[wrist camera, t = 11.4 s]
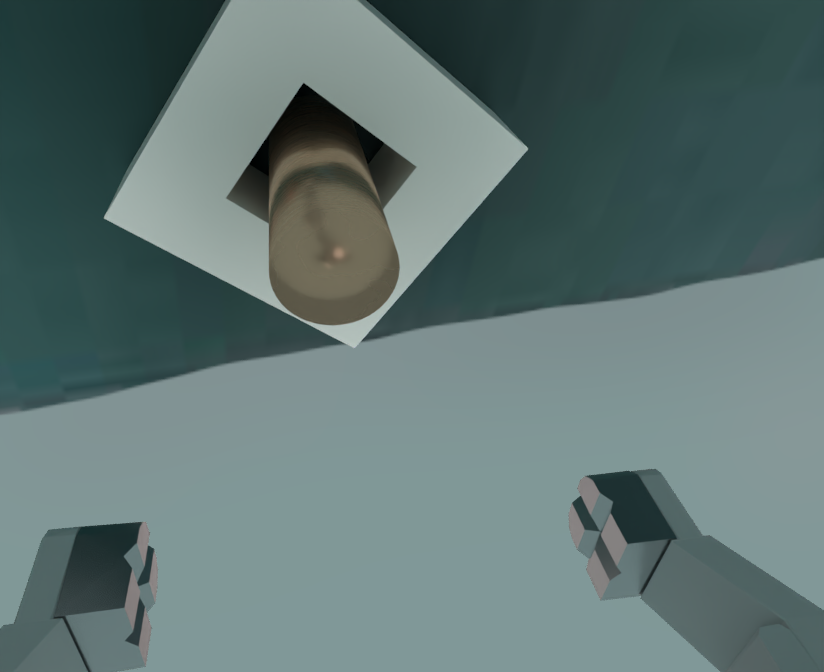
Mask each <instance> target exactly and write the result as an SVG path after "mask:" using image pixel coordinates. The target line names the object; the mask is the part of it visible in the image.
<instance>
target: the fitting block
mask: <svg viewBox="0 0 824 672" xmlns="http://www.w3.org/2000/svg"><path fill="white" fill-rule="evenodd" d="M303 83H305V84H306V85H307V86H309V87H310V88H311V89H313V90H314V91H315V92H317V93H318V94H319V95H321V96H322V97H323V98H325V99H326V100H328V101H329V102H330V103H332V104H333V105H334V106H336V107H337V108H338V109H340V110H341V111H342V112H344V113H345V114H346V115H348V116H349V117H350V118H352V119H353V120H354V121H356V122H357V123H358V124H360V125H361V126H362V127H364V128H365V129H366V130H368V131H369V132H370V133H372V134H373V135H374V136H376V137H377V138H379V139H380V140H381V141H383V142H384V144H383V146H382V147H381V148H380V150H379V151H378V152H377V153H376V155H375V156H374V157H373V159H372V160H371V161H370V163H369V164H368V167H369V170H370V173H371V176H372V179H373V182H374V185H375V188H376V191H377V194H378V197H379V199H380V202H381V205H382V208H383V211H384V214H385V217H386V220H387V223H388V226H389V229H390V232H391V235H392V238H393V241H394V244H395V247H396V250H397V253H398V257H399V265H400V270H399V277H398V281H397V284H396V287H395V289H394V291H393V293H392V294H391V296H390V297H389V299H388V300H387V301H386V302H385V303H384V304H383V305H382V306H381V307H380V308H379V309H378V310H377V311H375V312H374V313H372V314H371V315H369V316H367V317H365V318H363V319H361V320H359V321H356V322H353V323H348V324H343V325H321V324H316V323H312V322H309V321H306V320H303V319H301V318H299V317H297V316H296V315H294V314H292V313H291V312H290V311H289V310H287V309H286V308H285V307H284V306H283V305H282V304H281V303H280V301H279V300H278V299H277V297H276V295H275V293H274V292H273V289H272V286H271V284H270V279H269V176H267V175H266V174H264V173H263V172H261V171H260V170H258V169H256V168H255V167H253V166H252V165H250V164H249V163H250V161H251V160H252V158H253V157H254V155H255V154H256V152H257V151H258V149H259V148H260V146H261V145H262V143H263V142H264V140H265V139H266V138H267V136H268V135H269V133H270V132H271V130H272V129H273V127H274V126H275V124H276V123H277V121H278V120H279V118H280V117H281V115H282V114H283V112H284V111H285V109H286V108H287V106H288V105H289V103H290V102H291V100H292V99H293V97H294V96H295V94H296V93H297V91H298V90H299V88H300V87H301V85H302V84H303ZM527 150H528V148H527V147H526V146H525V145H524V143H523V142H522V141H521V140H520V139H519V138H518V137H517V136H516V135H515V134H514V133H513V132H512V131H511V130H510V129H509V128H508V127H507V125H506V124H505V123H504V122H503V121H502V120H501V119H500V118H499V117H498V116H497V115H496V114H495V113H494V112H493V111H492V110H491V109H490V108H489V107H487V106H486V105H485V104H484V103H483V102H482V101H481V100H479V99H478V98H477V97H476V96H475V95H474V94H473V93H471V92H470V91H469V90H468V89H467V88H466V87H465V86H463V85H462V84H461V83H460V82H459V81H458V80H457V79H455V78H454V77H453V76H452V75H451V74H450V73H449V72H447V71H446V70H445V69H444V68H443V67H442V66H441V65H439V64H438V63H437V62H436V61H435V60H434V59H433V58H431V57H430V56H429V55H428V54H427V53H426V52H425V51H423V50H422V49H421V48H420V47H419V46H418V45H417V44H415V43H414V42H413V41H412V40H411V39H410V38H409V37H407V36H406V35H405V34H404V33H403V32H402V31H401V30H399V29H398V28H397V27H396V26H395V25H394V24H393V23H391V22H390V21H389V20H388V19H387V18H386V17H385V16H383V15H382V14H381V13H380V12H379V11H378V10H377V9H375V8H374V7H373V6H372V5H371V4H370V3H369V2H367V1H366V0H225V2H224V4H223V5H222V7H221V9H220V10H219V12H218V14H217V16H216V17H215V19H214V21H213V23H212V24H211V26H210V28H209V29H208V31H207V33H206V35H205V36H204V38H203V40H202V41H201V43H200V45H199V47H198V48H197V50H196V52H195V53H194V55H193V57H192V59H191V60H190V62H189V64H188V66H187V67H186V69H185V71H184V72H183V74H182V76H181V78H180V79H179V81H178V83H177V84H176V86H175V88H174V90H173V91H172V93H171V95H170V97H169V98H168V100H167V102H166V103H165V105H164V107H163V109H162V110H161V112H160V114H159V115H158V117H157V119H156V121H155V122H154V124H153V126H152V127H151V129H150V131H149V133H148V134H147V136H146V138H145V140H144V141H143V143H142V145H141V146H140V148H139V150H138V152H137V153H136V155H135V157H134V158H133V160H132V162H131V164H130V165H129V167H128V169H127V171H126V173H125V175H124V177H123V179H122V181H121V183H120V185H119V187H118V189H117V191H116V194H115V196H114V198H113V200H112V202H111V204H110V206H109V208H108V210H107V212H106V214H105V216H104V219H106V220H108V221H110V222H112V223H114V224H116V225H118V226H120V227H122V228H123V229H125V230H127V231H129V232H131V233H133V234H135V235H137V236H139V237H141V238H143V239H145V240H147V241H149V242H150V243H152V244H154V245H156V246H158V247H160V248H162V249H164V250H166V251H168V252H170V253H172V254H174V255H176V256H177V257H179V258H181V259H183V260H185V261H187V262H189V263H191V264H193V265H195V266H197V267H199V268H201V269H203V270H204V271H206V272H208V273H210V274H212V275H214V276H216V277H218V278H220V279H222V280H224V281H226V282H228V283H230V284H231V285H233V286H235V287H237V288H239V289H241V290H243V291H245V292H247V293H249V294H251V295H253V296H255V297H257V298H258V299H260V300H262V301H264V302H266V303H268V304H270V305H272V306H274V307H276V308H278V309H280V310H282V311H283V312H285V313H287V314H289V315H291V316H293V317H295V318H297V319H299V320H301V321H303V322H305V323H307V324H309V325H310V326H312V327H314V328H316V329H318V330H320V331H322V332H324V333H326V334H328V335H330V336H332V337H334V338H336V339H337V340H339V341H341V342H343V343H345V344H347V345H349V346H351V347H353V348H355V347H356V346H357V345H358V344H359V343H360V342H361V340H362V339H363V338H364V337H365V336H366V335H367V334H368V332H369V331H370V330H371V329H372V328H373V327H374V326H375V324H376V323H377V322H378V321H379V320H380V319H381V318H382V316H383V315H384V314H385V313H386V312H387V311H388V309H389V308H390V307H391V306H392V305H393V304H394V303H395V301H396V300H397V299H398V298H399V297H400V296H401V295H402V293H403V292H404V291H405V290H406V289H407V288H408V287H409V285H410V284H411V283H412V282H413V281H414V280H415V279H416V277H417V276H418V275H419V274H420V273H421V272H422V270H423V269H424V268H425V267H426V266H427V265H428V264H429V262H430V261H431V260H432V259H433V258H434V257H435V256H436V254H437V253H438V252H439V251H440V250H441V249H442V248H443V246H444V245H445V244H446V243H447V242H448V241H449V240H450V238H451V237H452V236H453V235H454V234H455V233H456V231H457V230H458V229H459V228H460V227H461V226H462V225H463V223H464V222H465V221H466V220H467V219H468V218H469V217H470V215H471V214H472V213H473V212H474V211H475V210H476V209H477V207H478V206H479V205H480V204H481V203H482V202H483V200H484V199H485V198H486V197H487V196H488V195H489V194H490V192H491V191H492V190H493V189H494V188H495V187H496V186H497V184H498V183H499V182H500V181H501V180H502V179H503V178H504V176H505V175H506V174H507V173H508V172H509V171H510V170H511V168H512V167H513V166H514V165H515V164H516V163H517V161H518V160H519V159H520V158H521V157H522V156H523V155H524V153H525V152H526V151H527Z"/></svg>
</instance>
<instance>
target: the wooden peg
mask: <svg viewBox="0 0 824 672" xmlns="http://www.w3.org/2000/svg"><path fill="white" fill-rule="evenodd" d="M399 270H400V265H399V257H398V253H397V250H396V247H395V244H394V241H393V238H392V235H391V232H390V229H389V226H388V223H387V220H386V217H385V214H384V211H383V208H382V205H381V202H380V199H379V197H378V194H377V191H376V188H375V185H374V182H373V179H372V176H371V173H370V170H369V167H368V164H367V161H366V158H365V155H364V152H363V149H362V146H361V143H360V141H359V138H358V135H357V132H356V129H355V126H354V123H353V121H352V119H351V118H350V117H349V116H348V115H346V114H345V113H344V112H342V111H341V110H340V109H338V108H337V107H336V106H334V105H333V104H332V103H330V102H329V101H328V100H326V99H325V98H323V97H322V96H318V95H305V96H300V97H297V98H294V99H292V100H291V102H290V103H289V105H288V106H287V108H286V109H285V111H284V112H283V114H282V115H281V117H280V118H279V120H278V121H277V123H276V124H275V126H274V127H273V129H272V130H271V132H270V133H269V279H270V284H271V286H272V289H273V292H274V293H275V295H276V297H277V299H278V300H279V301H280V303H281V304H282V305H283V306H284V307H285V308H286V309H287V310H289V311H290V312H291V313H292V314H294V315H296V316H297V317H299V318H301V319H303V320H306V321H309V322H312V323H316V324H321V325H343V324H348V323H353V322H356V321H359V320H361V319H363V318H365V317H367V316H369V315H371V314H372V313H374V312H375V311H377V310H378V309H379V308H380V307H381V306H382V305H383V304H384V303H385V302H386V301H387V300H388V299H389V297H390V296H391V294H392V293H393V291H394V289H395V287H396V284H397V281H398V277H399Z"/></svg>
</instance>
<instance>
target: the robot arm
mask: <svg viewBox="0 0 824 672" xmlns="http://www.w3.org/2000/svg"><path fill="white" fill-rule="evenodd" d="M577 489H578V491H579V493H580V495H581V496H580V497H579V498H577V499H576V500H575V501H574V502H573V503H572V505H571V508H570V512H569V529H570V533H571V536H572V539H573V542H574V544H575V546H576V548H577V550H578V551H579V552H581V553H582V554H583V555H585V556H586V557H587V558H589V560H588V565H587V569H586V570H587V572H588V574H589V576H590V579H591V581H592V583H593V585H594V587H595V589H596V591H597V594H598V596H599V598H600V600H608V599H617V598H626V597H635V596H641V599H642V600H643V601H644V602H645V603H646V604H647V605H648V606H649V607H651V608H652V609H653V610H654V611H655V612H656V613H657V614H658V615H659V616H660V617H661V618H663V619H664V620H665V621H666V622H667V623H668V624H669V625H670V626H671V627H672V628H674V630H676V631H677V632H678V633H679V634H680V635H681V636H682V637H683V638H684V639H686V641H688V642H689V643H690V644H691V645H692V646H693V647H694V648H695V649H696V650H697V651H698V652H700V653H701V654H702V655H703V656H704V657H705V658H706V659H707V660H708V661H709V662H710V663H712V664H713V665H714V666H715V667H716V668H717V669H718V670H719V671H720V672H824V610H822V609H821V608H819V607H817V606H816V605H815V604H813V603H812V602H810V601H809V600H807V599H806V598H804V597H802V596H801V595H800V594H798V593H796V592H795V591H793V590H792V589H790V588H789V587H787V586H786V585H784V584H783V583H781V582H780V581H778V580H777V579H775V578H774V577H772V576H771V575H769V574H768V573H766V572H765V571H763V570H762V569H760V568H759V567H757V566H756V565H754V564H752V563H751V562H749V561H748V560H746V559H745V558H743V557H742V556H740V555H739V554H737V553H736V552H734V551H733V550H731V549H730V548H728V547H727V546H725V545H724V544H722V543H721V542H719V541H717V540H716V539H714V538H713V537H712V536H710V535H708V536H703V535H702V534H701V532H700V531H699V529H698V528H697V526H696V525H695V523H694V522H693V520H692V519H691V517H690V516H689V514H688V513H687V511H686V510H685V508H684V507H683V505H682V504H681V502H680V501H679V499H678V498H677V496H676V495H675V493H674V492H673V490H672V489H671V487H670V486H669V484H668V483H667V481H666V480H665V478H664V477H663V475H662V474H661V473H660V472H659V471H658V470H656V469H648V470H638V471H631V472H630V471H623V472H615V473H606V474H598V475H589V476H585V477H583V478H582V479H581V480H580V483H579V485H578V488H577ZM149 535H150V532H149V529H148V527H147V523H146V522H135V523H123V524H110V525H97V526H85V527H73V528H62V529H52V530H48V531H47V533H46V534H45V536H44V537H43V539H42V541H41V543H40V547H39V549H38V553H37V555H36V558H35V561H34V565H33V568H32V571H31V574H30V577H29V579H28V583H27V586H26V589H25V592H24V595H23V598H22V601H21V604H20V607H19V610H18V613H17V616H16V619H15V622H14V624H9V625H3V626H2V628H1V629H0V672H117V671H123V670H129V669H135V668H141V667H146V661H147V655H148V648H149V641H150V635H151V625H150V621H149V618H148V615H147V612H148V611H149V610H150V609H151V607H152V606H153V605H154V604H155V601H156V593H157V578H158V567H157V558H156V554H155V551H154V549H153V548H151V547H150V546H148V542H149Z"/></svg>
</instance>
